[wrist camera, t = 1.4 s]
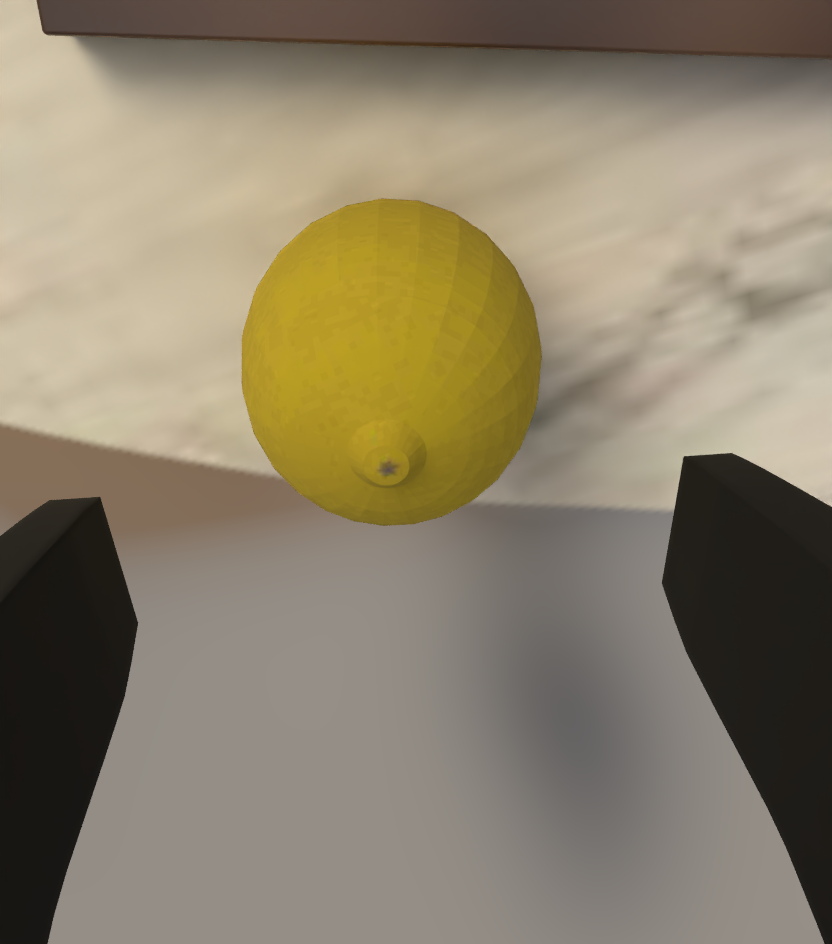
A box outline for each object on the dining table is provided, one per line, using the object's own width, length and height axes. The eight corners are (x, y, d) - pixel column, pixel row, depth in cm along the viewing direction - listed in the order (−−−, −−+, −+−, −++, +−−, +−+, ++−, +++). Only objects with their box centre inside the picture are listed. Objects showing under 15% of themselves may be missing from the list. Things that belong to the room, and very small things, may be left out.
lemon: (338, 423, 20) (300, 648, 13) (234, 219, 17) (119, 370, 11) (545, 349, 19) (617, 552, 12) (469, 119, 16) (508, 217, 10)
